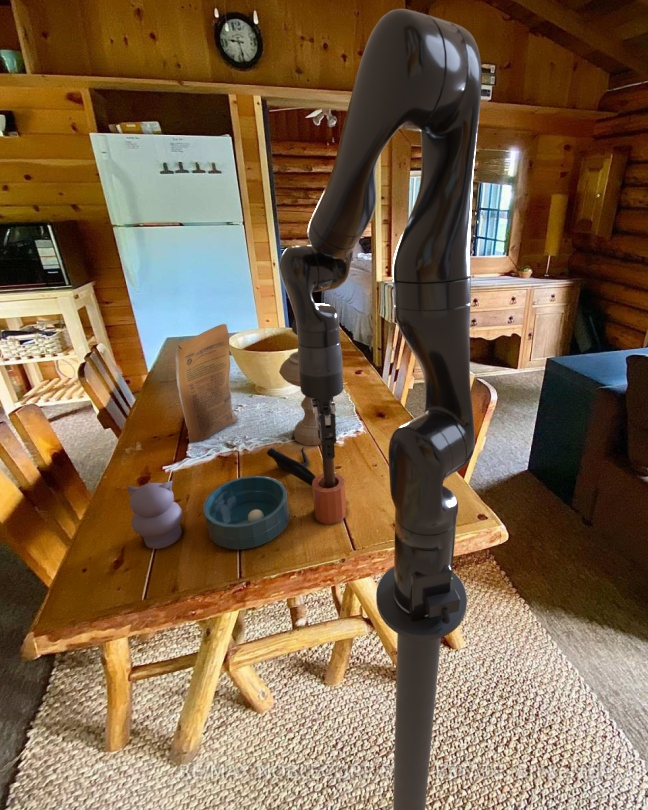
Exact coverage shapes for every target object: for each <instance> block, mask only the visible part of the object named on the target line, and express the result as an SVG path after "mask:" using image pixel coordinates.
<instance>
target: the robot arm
mask: <svg viewBox="0 0 648 810" xmlns="http://www.w3.org/2000/svg"><path fill="white" fill-rule="evenodd" d="M482 84H483V70H482V59H481V55H480V50H479V47H478V44H477V42H476V40H475V38H474V36H473V35H472V33H471V32H470V31H469V30H467V29H466V28H465V27H464V26H461V25H460V24H457V23H454V22H451V21H448V20H445V19H441V18H438V17H435V16H433V15H429V14H427V13H426V14H425V13H422V12H419V11H415V10H411V9H407V8H395V9H392V10H390V11H388V12H387V13H386V14H384V15H383V16H381V18H380V19H379V20H378V22H377V23H376V25H375V26H374V27H373V29H372V31H371V32H370V35H369V37H368V39H367V42H366V44H365V47H364V50H363V52H362V55H361V59H360V62H359V66H358V69H357V72H356V77H355V80H354V84H353V88H352V91H351V95H350V99H349V103H348V107H347V111H346V114H345V118H344V121H343V127H342V131H341V135H340V139H339V141H338V142H339V143H338V147H337V150H336V154H335V155H336V156H335V159H334V163H333V165H332V170H331V173H330V175H329V179H328V180H327V184H326V186H325V188H324V190H323V193H322V195H321V197H320V199H319V201H318V203H317V205H316V208H315V210H314V212H313V213H312V217H311V219H310V221H309V223H308V228H307V237H308V241H309V242H310V244H307V245H295V246H289V247H288V248H286V249H285V250H284V251H283V253H282V254H281V256H280V259H279V260H280V261H279V266H278V267H279V268H278V269H279V275H280V278H281V281H282V284H283V287H284V288H285V291H286V294H287V296H288V300H289V302H290V305H291V309H292V311H293V315H294V319H295V318H296V325H297V335H296V336H297V351H298V365H299V375H300V386H301V387H300V392H301V394H302V395H304V397H305V396H306V397H309V398H312V399H311V401H312V407H313V413H314V415H315V419H316V427H317V429H318V437H319V439H320V441H321V444H322V447H321V458H322V457H323V459H325V460H326V459H333V458H334V459H335V457H336V453H335V451H336V450H335V444H337V441H338V440H337V431H336V428H337V419H336V417H337V416H336V411H337V408H336V402H335V401H334V398H335V397H337V396H339V395H340V394H341V393H342V392H343V390H344V366H343V352H342V351H343V350H342V345H341V336H340V335H341V334H340V316H339V312H338V310H337V309H336V308H335V307H334V306H332V305H330V304H325V303H316V302H315V300H314V297H313V293H318V292H324V291H332V290H335V289H337V288H339V287H341V286H342V285H343V284H344V283H345V282H346V281H347V279H348V278H349V274H350V270H351V264H352V261H353V257H354V252H355V248H356V246H358V245H357V244H358V243H359V241H360V240H361V238H362V236H363V235H364V233H365V231H366V230H367V229H368V227H369V225H370V223H371V221H372V219H373V217H374V215H375V210H376V206H377V181H376V179H377V177H376V170H377V163H378V160H379V159H380V156H381V154H382V152H383V150H384V149H385V147H386V146H387V144H388V143H389V142H390V140H391V138H393V136H394V135H395V133H396V132H397V131H398V130H405V131H414V132H419V133H420V147H421V148H420V149H421V150H420V151H421V154H420V156H421V157H420V160H421V163H420V179H419V181H420V182H419V186H418V192H417V196H416V199H415V201H414V205H413V207H412V211H411V212H410V215H409V217H408V219H407V222H406V224H405V226H404V228H403V230H402V233H401V235H400V238H399V241H398V244H397V246H396V250H395V253H394V257H393V262H392V263H393V264H392V279H393V280H392V284H393V286H392V288H393V304H394V305H393V306H394V316H395V321H396V324H397V326H398V329H399V332H400V334H401V336H402V338H403V339H404V341H405V344H406V345H407V346H408V348H409V349H410V351H411V353H412V354H413V356H414V357H415V359H416V360H417V363H418V365H419V366H420V369H421V372H422V376H423V382H424V383H423V384H424V392H425V393H424V410H423V413H422V414H420V415H418V416H417V417H415V418H413V419H410V420H408V421H407V422H405V423H404V424H401V425H400V426H398V427H396V429H395V430H394V431H393V432H392V434H391V435H390V438H389V442H388V453H387V455H388V475H389V492H390V496H391V497H390V498H391V500H392V503H393V506H394V513H395V514H394V516H395V517H394V559H393V561H394V563H393V566H394V587H393V597H394V601H395V603H396V605H397V606H398V608H399V609H400V610H401V611H402V612H404V613H405V614H407V615H409V617H410V619H411V621H412V622H414V621H419V620H423V619H428V618H433V617H436V616H441V615H444V618H443V619H442V621H443V623H445V624H448V623H449V622H450V616H449V613H454V612H458V611H459V606H460V598H459V596H458V594H457V592H456V590H455V589H452V590H451V582H452V572H453V564H454V554H455V544H456V533H457V525H458V515H459V502H458V498H457V496H456V494H455V493H454V492H453V490H451V489H449V488H448V487H447V486H445V485H444V481H446V480H447V479H448V478H450V477H451V476H452V475H454V474H456V473H457V472H458V471H460V470H461V469H462V468H464V467H465V466H466V465H467V464H468V463H469V462H470V460H471V459H472V457H473V454H474V451H475V445H476V431H475V429H476V428H475V419H474V410H473V409H474V408H473V400H472V387H471V344H470V343H471V340H470V339H471V337H470V336H471V335H470V331H471V330H470V328H471V326H470V325H471V323H470V321H471V308H472V307H471V305H472V304H471V303H472V302H471V301H472V297H471V296H472V289H471V288H472V276H471V275H472V266H471V265H472V264H471V263H472V262H471V239H472V238H471V237H472V213H473V212H472V210H473V185H474V183H473V182H474V172H475V171H474V169H475V160H476V151H477V143H478V141H477V140H478V132H479V121H480V110H481V103H482V102H481V101H482V86H483V85H482ZM327 433H331V435H326V436H324V435H325V434H327ZM321 444H320V445H321Z"/></svg>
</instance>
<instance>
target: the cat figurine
mask: <svg viewBox="0 0 648 810" xmlns="http://www.w3.org/2000/svg"><path fill="white" fill-rule="evenodd" d="M172 487H173V480H169V481H167V482H164V483H161V482H160V483H159V482H150V483H146V484H143V485H141V486H139V487H138V486H130V485H126V488H127V491H128V494H129V497H130V498H129V507H130V509H131V511H132V512H133V515H132V517H131V523H130V524H131V525H130V526H131V528H132V529H133V531H134V532H135V533H136V534H137V535H139V536H141V537H142V538H143V541H144V544H145V545H146V547H148V548H149V549H154V550H158V549H159V550H160V549H164V548H167V547H169V546H171V545H173V544H174V543H176V542H177V541H178V540H179V539H180V538H181V536H182V527H181V524H180V523H181V521H182V520H183V509H182V507H180V505H179V504H178V503H177V502H176V501H174V500H175V494H174V492H173V490H172V489H173V488H172Z"/></svg>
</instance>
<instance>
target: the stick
mask: <svg viewBox="0 0 648 810" xmlns="http://www.w3.org/2000/svg"><path fill="white" fill-rule="evenodd" d="M326 435H331V433H327V434H325V435H324V436H326ZM320 445H321V448H322V444H320ZM321 458H322V459H321V461H322V472H323V473H322V474H323V475H324V488H327V489H328V488H333V487H335V473H336V472H335V470H336V469H335V457H334V458H333V459H326V460H325V459H323V457H322V456H321Z"/></svg>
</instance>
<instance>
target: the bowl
mask: <svg viewBox="0 0 648 810" xmlns="http://www.w3.org/2000/svg"><path fill="white" fill-rule="evenodd" d="M256 509H257V510H260V511H262V512H263V514H264V518H262V519H259V520H257V521H254V522H251V523H250V522H249V521H248V515H249V513H250V512H251V511H253V510H256ZM202 511H203V512H202V513H203V516H204V520H205V526H206V528H207V533H208V535H209V538H210V540H211V541H212V542H213V543H215V544H216V545H217V546H218V547H221V548H224V549H228V550H247V549H252V548H258V547H259V546H262V545H264V544H267V543H269V542H271V541H273V540H274V539H275V538H277V537H278V536H279V535H280V534H281V533H283V531H284V530H285V529H286V528H287V525H288V523H289V521H290V509H289V501H288V493H287V489H286V487H285V486H284V484H283V483H282V482H281V481H279V480H278V479H276V478H272V477H269V476H265V475H249V476H241V477H238V478H235V479H231V480H228V481H227V482H224V483H223V484H220V485H219V486H217V487H215V489H213V490H212V491H211V492H210V493H209V495H208V496H207V497H206V499H205V500H204V502H203V508H202Z"/></svg>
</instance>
